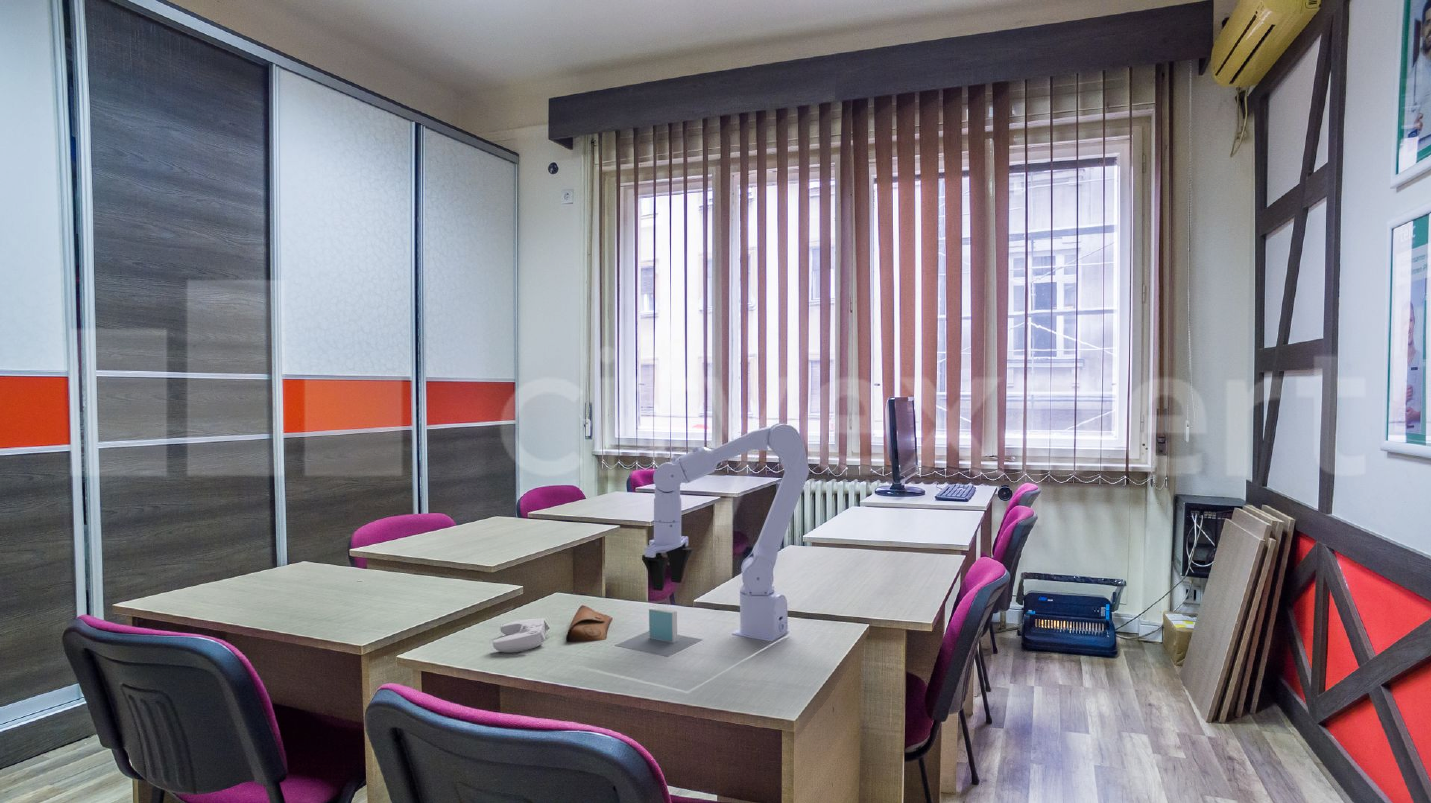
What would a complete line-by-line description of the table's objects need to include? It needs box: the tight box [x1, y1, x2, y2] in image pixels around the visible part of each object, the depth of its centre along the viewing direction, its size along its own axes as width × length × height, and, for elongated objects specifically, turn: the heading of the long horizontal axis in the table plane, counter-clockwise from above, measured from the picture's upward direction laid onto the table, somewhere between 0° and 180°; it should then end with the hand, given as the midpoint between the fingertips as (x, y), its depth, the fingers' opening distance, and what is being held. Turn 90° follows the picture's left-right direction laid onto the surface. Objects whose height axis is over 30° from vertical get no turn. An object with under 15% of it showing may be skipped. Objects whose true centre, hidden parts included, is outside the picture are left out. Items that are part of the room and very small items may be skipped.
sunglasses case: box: [565, 604, 614, 643], centre depth 163 cm, size 18×7×7 cm
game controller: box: [492, 617, 551, 654], centre depth 155 cm, size 14×4×10 cm
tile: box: [648, 606, 678, 643], centre depth 155 cm, size 6×2×6 cm, turn 57°
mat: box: [614, 630, 704, 658], centre depth 153 cm, size 13×12×1 cm
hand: (667, 585), depth 159 cm, fingers open, 7 cm apart
